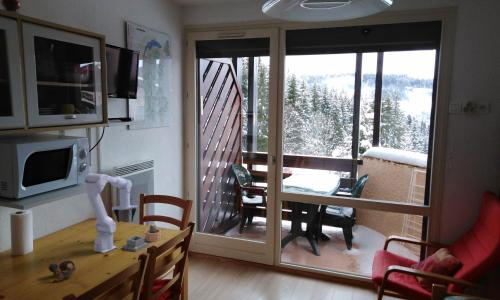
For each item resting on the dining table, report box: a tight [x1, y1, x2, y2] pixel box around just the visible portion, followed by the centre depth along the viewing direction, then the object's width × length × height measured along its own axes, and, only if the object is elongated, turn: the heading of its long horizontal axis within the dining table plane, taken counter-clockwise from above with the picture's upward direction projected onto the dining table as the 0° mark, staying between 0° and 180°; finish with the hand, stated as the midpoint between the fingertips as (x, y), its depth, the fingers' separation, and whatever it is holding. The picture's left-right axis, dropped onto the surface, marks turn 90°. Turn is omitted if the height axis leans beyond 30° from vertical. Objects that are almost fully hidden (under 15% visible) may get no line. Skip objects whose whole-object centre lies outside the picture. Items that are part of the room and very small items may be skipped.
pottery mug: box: [47, 259, 77, 281], centre depth 170 cm, size 12×10×8 cm
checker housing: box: [122, 235, 150, 252], centre depth 207 cm, size 10×10×5 cm
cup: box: [144, 228, 162, 243], centre depth 219 cm, size 9×9×5 cm
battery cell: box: [149, 224, 157, 233], centre depth 219 cm, size 4×4×8 cm
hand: (125, 221), depth 219 cm, fingers open, 7 cm apart
